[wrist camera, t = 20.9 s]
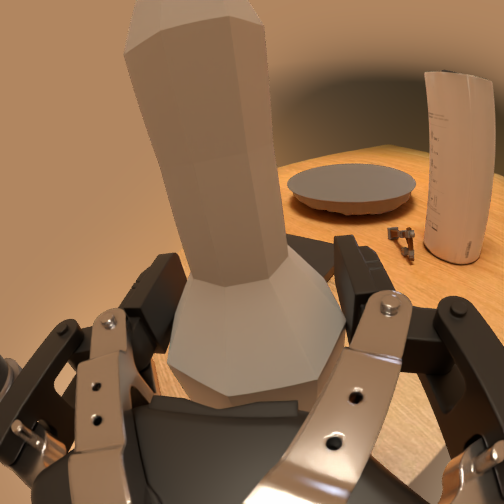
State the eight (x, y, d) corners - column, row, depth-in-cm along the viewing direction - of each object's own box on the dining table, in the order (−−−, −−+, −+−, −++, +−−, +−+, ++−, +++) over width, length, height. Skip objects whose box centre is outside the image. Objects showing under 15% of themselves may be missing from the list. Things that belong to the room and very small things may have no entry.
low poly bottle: (246, 393, 18) (149, 37, 8) (333, 399, 17) (312, -3, 6) (222, 469, 13) (14, 26, 2) (323, 481, 11) (293, -114, 1)
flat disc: (264, 204, 61) (261, 185, 59) (343, 174, 73) (342, 159, 71) (368, 242, 40) (369, 215, 38) (433, 196, 51) (434, 177, 49)
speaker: (489, 267, 28) (504, 78, 15) (429, 265, 32) (433, 63, 19) (468, 232, 36) (473, 79, 23) (417, 230, 40) (414, 71, 27)
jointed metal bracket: (409, 262, 32) (407, 228, 31) (389, 255, 40) (387, 226, 39) (420, 261, 32) (418, 227, 31) (399, 253, 40) (397, 225, 39)
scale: (203, 278, 39) (197, 261, 38) (264, 234, 48) (261, 218, 47) (297, 317, 29) (295, 296, 28) (350, 253, 38) (350, 235, 37)
